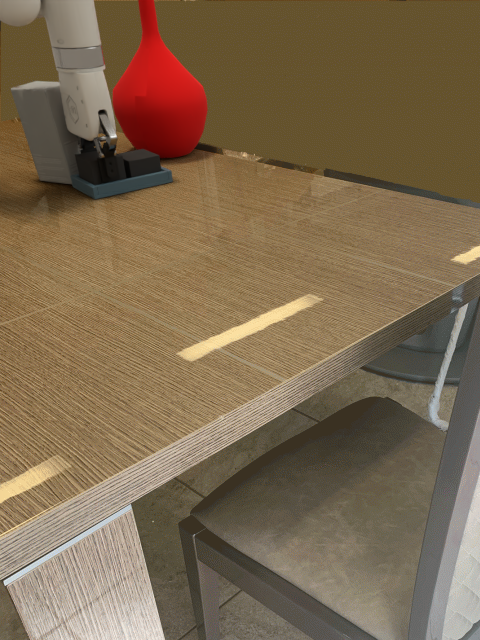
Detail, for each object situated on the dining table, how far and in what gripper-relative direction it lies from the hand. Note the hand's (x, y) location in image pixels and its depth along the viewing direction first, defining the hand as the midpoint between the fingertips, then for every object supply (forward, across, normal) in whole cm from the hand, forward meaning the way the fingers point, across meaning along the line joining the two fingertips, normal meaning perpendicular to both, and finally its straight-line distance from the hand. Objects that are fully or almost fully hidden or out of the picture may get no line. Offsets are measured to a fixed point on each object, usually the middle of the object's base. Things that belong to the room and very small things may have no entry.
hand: (102, 175), depth 112 cm
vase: (+2, -14, +21) cm, 25 cm away
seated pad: (+2, 0, +7) cm, 7 cm away
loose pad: (+1, 0, 0) cm, 1 cm away
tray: (+2, 0, +4) cm, 4 cm away
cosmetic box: (+2, -10, -3) cm, 11 cm away
